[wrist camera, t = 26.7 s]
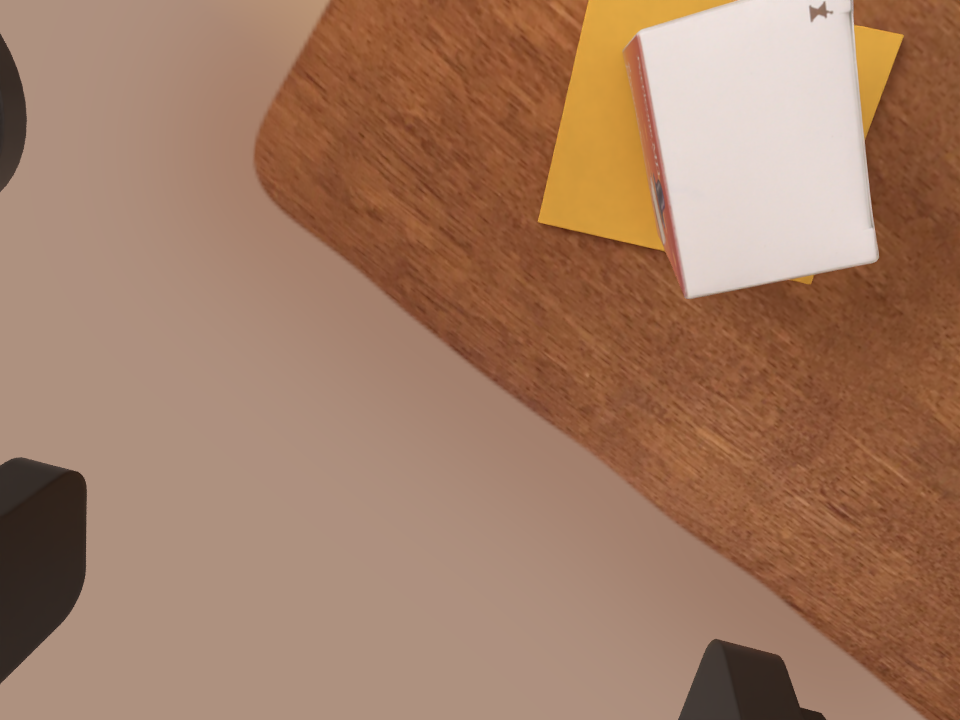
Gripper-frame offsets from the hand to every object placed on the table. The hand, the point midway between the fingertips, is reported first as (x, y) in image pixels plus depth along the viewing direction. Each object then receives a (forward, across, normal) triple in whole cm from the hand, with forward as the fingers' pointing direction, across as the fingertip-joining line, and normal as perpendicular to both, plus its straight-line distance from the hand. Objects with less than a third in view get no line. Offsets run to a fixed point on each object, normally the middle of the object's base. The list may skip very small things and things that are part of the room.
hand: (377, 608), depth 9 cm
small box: (+25, -6, -6) cm, 27 cm away
